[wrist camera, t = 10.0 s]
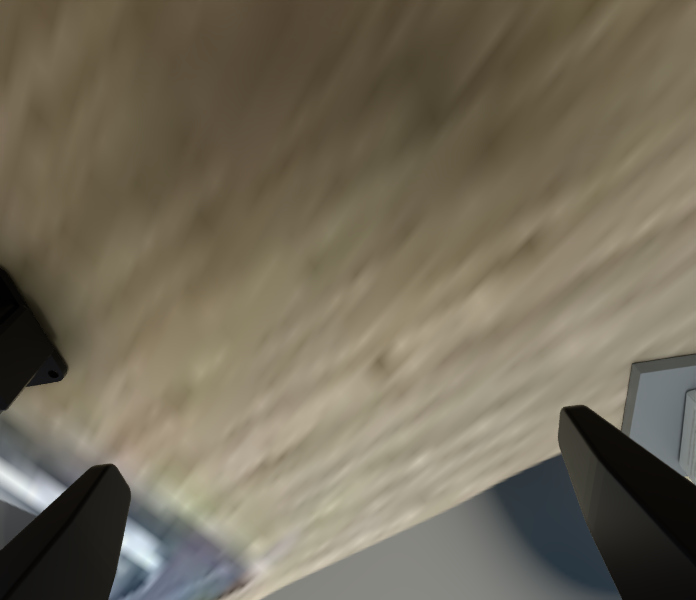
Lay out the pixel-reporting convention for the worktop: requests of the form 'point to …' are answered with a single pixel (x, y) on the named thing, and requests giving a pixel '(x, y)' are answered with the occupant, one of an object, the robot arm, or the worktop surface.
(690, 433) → the skincare box
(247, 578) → the worktop surface
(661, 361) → the plate
